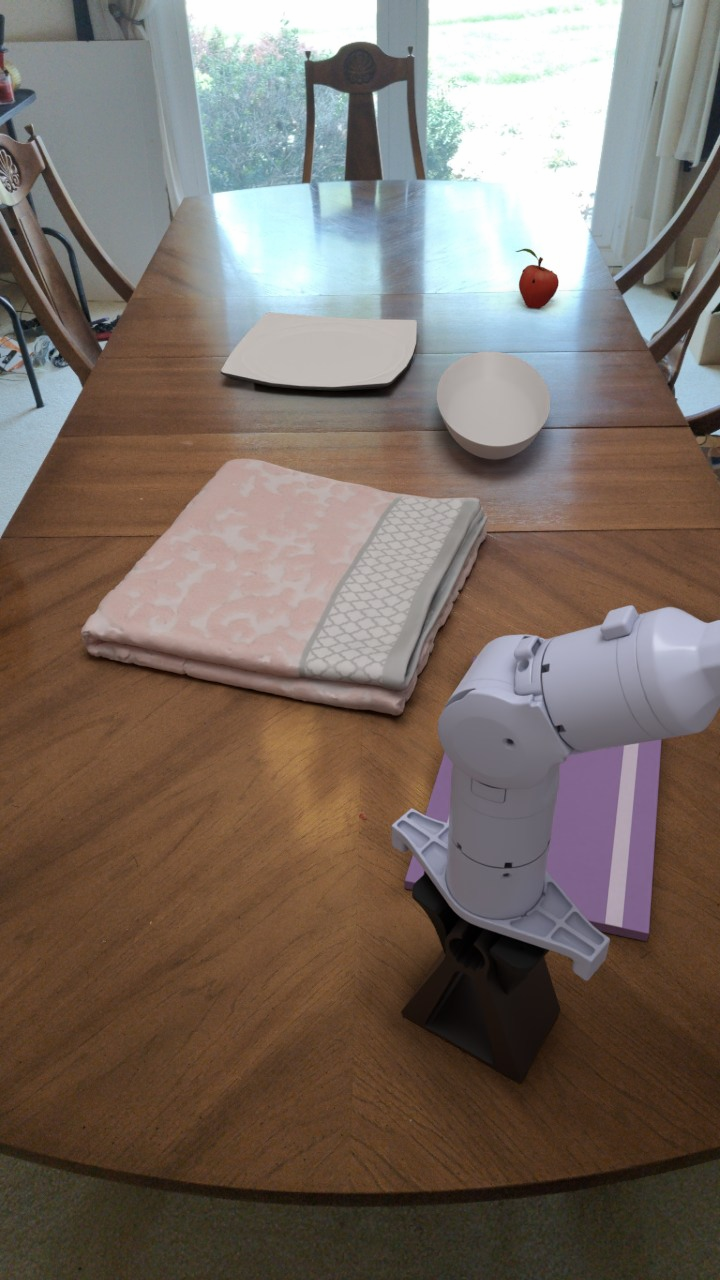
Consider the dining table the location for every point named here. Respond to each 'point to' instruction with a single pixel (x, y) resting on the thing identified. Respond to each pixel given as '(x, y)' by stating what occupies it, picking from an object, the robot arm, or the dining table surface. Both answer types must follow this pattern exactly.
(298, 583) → the towel
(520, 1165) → the dining table surface
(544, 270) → the apple
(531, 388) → the bowl
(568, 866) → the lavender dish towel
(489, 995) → the phone stand
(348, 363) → the plate
